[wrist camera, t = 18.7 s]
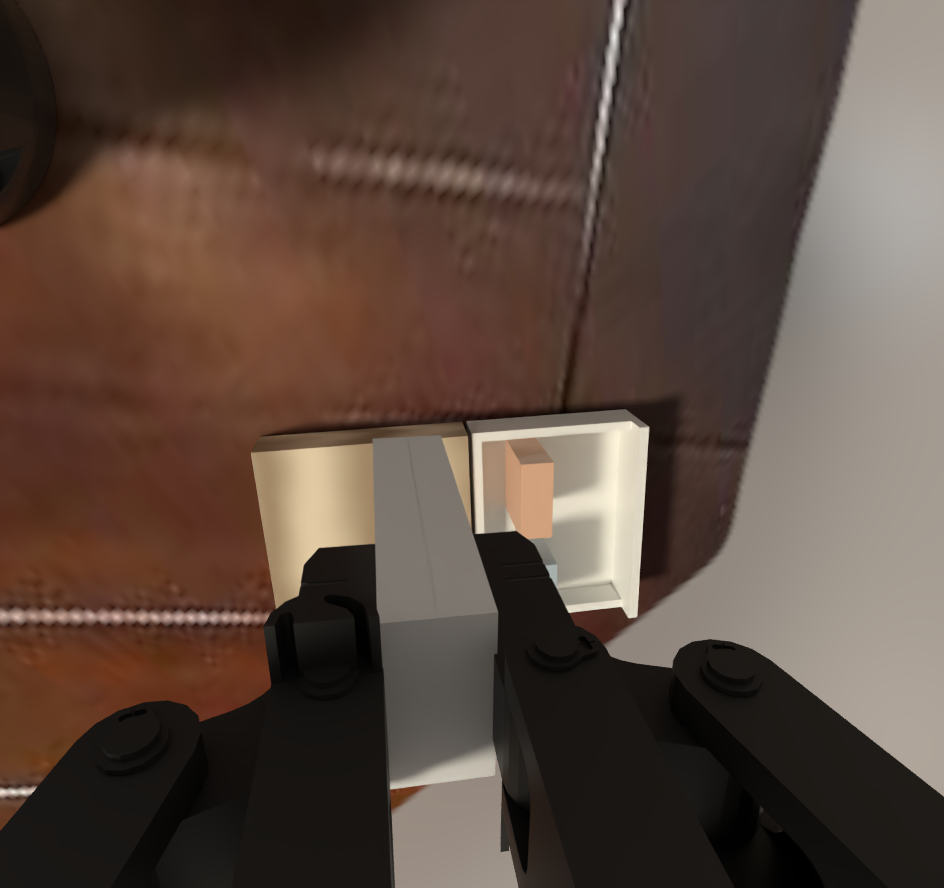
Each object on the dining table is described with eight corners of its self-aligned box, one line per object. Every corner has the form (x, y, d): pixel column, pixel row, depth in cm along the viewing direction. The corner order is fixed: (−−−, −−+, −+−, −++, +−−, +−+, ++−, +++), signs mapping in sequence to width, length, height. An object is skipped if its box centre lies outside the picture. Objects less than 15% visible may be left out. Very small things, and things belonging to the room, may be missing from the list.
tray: (473, 601, 46) (481, 635, 43) (466, 421, 42) (474, 440, 38) (616, 586, 48) (636, 617, 44) (625, 409, 43) (649, 427, 39)
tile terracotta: (520, 539, 39) (552, 537, 39) (521, 464, 37) (553, 462, 37) (505, 505, 43) (533, 503, 44) (505, 437, 42) (534, 435, 42)
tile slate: (526, 634, 41) (556, 630, 41) (526, 567, 40) (557, 564, 40) (511, 592, 46) (538, 589, 46) (510, 531, 44) (538, 528, 44)
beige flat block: (288, 622, 45) (282, 649, 42) (259, 436, 40) (250, 452, 37) (469, 602, 46) (475, 626, 43) (461, 421, 42) (467, 435, 39)
